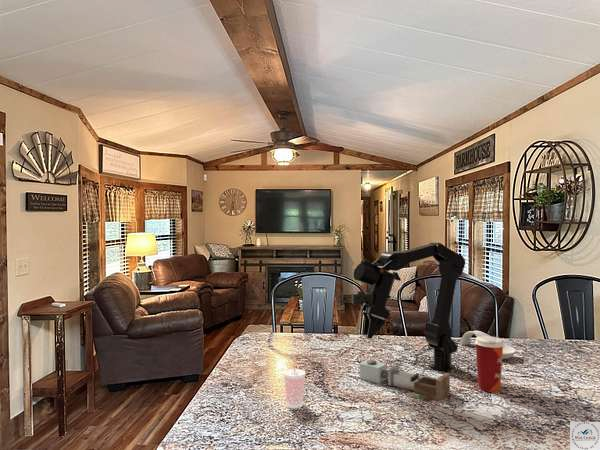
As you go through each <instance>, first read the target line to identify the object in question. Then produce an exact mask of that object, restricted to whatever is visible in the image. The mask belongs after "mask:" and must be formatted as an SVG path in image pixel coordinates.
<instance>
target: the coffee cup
mask: <svg viewBox="0 0 600 450" xmlns="http://www.w3.org/2000/svg"><path fill="white" fill-rule="evenodd" d="M504 343H505V342H504V341H503V339H502V338H500V337H497V336H491V335H489V336H479V337H477V336H476V338H475V341H474V344H475V353H476V369H477V373H476V374H477V383H478V386H477V387H478V389H479V388H480V389H479V390H481V391H483V392H486V391H487V393H498V391H499V392H500V391H501V385H502V384H501V381H502V369H503V367H502V366H503V359H502V355H503V346H504Z"/></svg>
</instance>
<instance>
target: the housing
mask: <svg viewBox="0 0 600 450" xmlns="http://www.w3.org/2000/svg"><path fill="white" fill-rule="evenodd" d="M423 376H424V384H423V383H419V382H415V383H414V390H413V392H408V393H407V397H409V398H413V399H416V400H422V401H426V402H430V401H431V400H432V399H433V400H437V401H442V400H443V399H444V398H446V396H447V395H448V394H450V387H451V386H450V385H451V384H450V383H451V382H450V377H451V375H450V373H448V372H445V373H444V374H442V375H440V377H438V378H435V377H431V376H426V375H423Z"/></svg>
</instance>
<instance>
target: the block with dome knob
mask: <svg viewBox="0 0 600 450" xmlns="http://www.w3.org/2000/svg"><path fill="white" fill-rule="evenodd" d="M387 368H388V364H387V363H384V362H379V361H376V360H374V359H373V360H372V359H366V360H364V361H362V362H360V363H359V380H363V381H368V382H372V383H375V384H381V383H382V382H384V381H387V380H388V369H387Z"/></svg>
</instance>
